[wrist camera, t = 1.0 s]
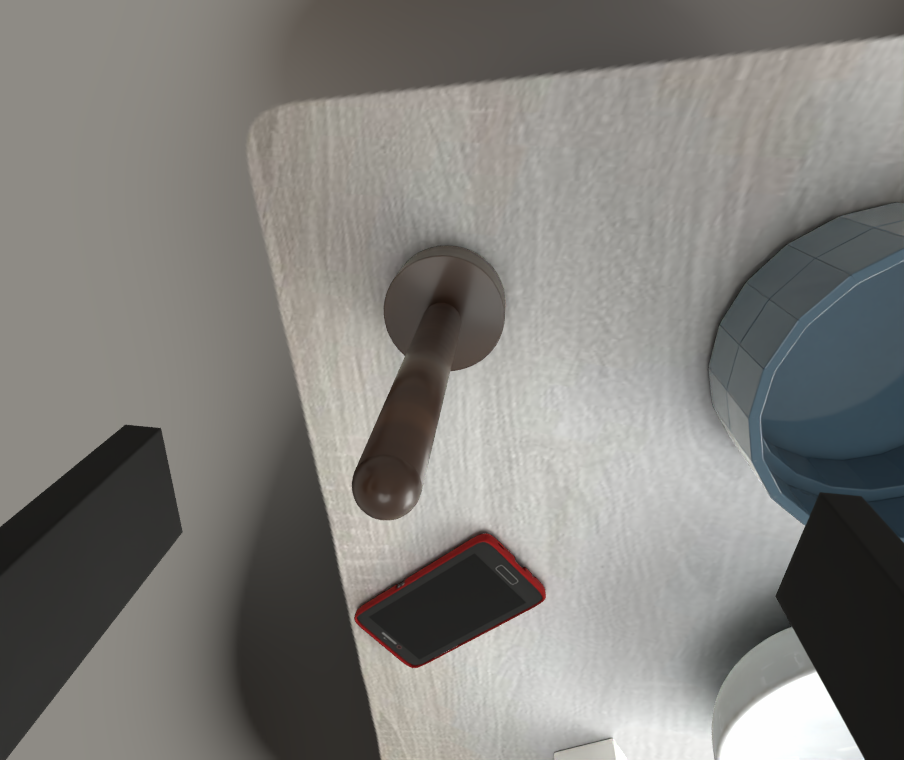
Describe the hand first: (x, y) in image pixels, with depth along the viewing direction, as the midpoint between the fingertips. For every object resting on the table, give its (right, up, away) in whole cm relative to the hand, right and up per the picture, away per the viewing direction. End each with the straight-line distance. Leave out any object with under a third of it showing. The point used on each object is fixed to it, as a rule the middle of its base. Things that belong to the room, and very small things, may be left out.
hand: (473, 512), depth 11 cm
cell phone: (-1, -15, +34) cm, 37 cm away
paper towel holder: (-1, +8, +23) cm, 24 cm away
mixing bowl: (+24, +4, +22) cm, 32 cm away
